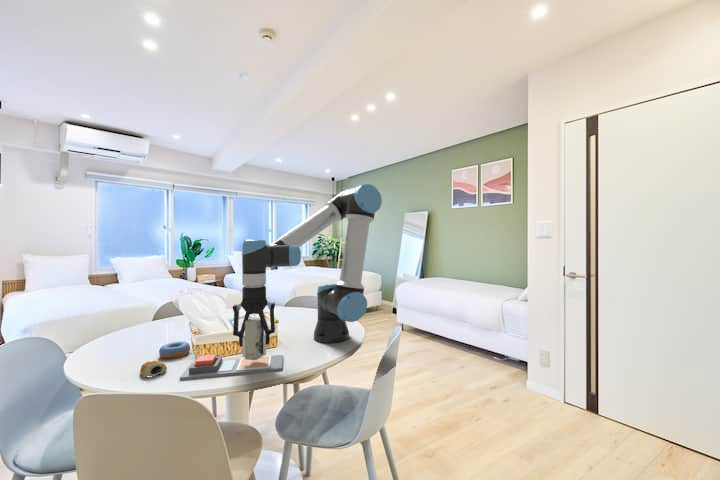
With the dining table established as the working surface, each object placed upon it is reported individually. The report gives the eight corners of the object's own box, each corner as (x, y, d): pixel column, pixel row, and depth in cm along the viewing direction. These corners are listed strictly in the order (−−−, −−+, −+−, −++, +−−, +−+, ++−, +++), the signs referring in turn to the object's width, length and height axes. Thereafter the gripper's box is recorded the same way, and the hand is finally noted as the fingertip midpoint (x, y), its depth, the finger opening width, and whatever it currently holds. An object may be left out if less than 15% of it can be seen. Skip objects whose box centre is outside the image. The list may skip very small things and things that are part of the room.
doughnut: (167, 349, 121) (167, 338, 121) (194, 350, 122) (194, 338, 122) (153, 362, 111) (152, 349, 111) (182, 362, 112) (182, 350, 112)
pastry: (136, 371, 102) (136, 359, 102) (159, 365, 107) (159, 354, 107) (144, 380, 96) (144, 367, 96) (169, 373, 101) (169, 361, 101)
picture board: (282, 356, 113) (282, 349, 113) (282, 370, 102) (282, 362, 102) (191, 364, 107) (191, 357, 107) (179, 380, 95) (179, 371, 95)
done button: (216, 360, 105) (216, 354, 105) (212, 366, 100) (212, 360, 100) (199, 361, 104) (199, 355, 104) (195, 367, 99) (195, 361, 99)
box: (256, 360, 102) (256, 321, 102) (244, 359, 103) (244, 320, 103) (264, 355, 108) (264, 317, 108) (252, 354, 108) (252, 316, 108)
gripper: (283, 283, 111) (283, 348, 111) (226, 285, 107) (226, 353, 107) (283, 286, 104) (283, 356, 104) (221, 288, 100) (222, 361, 100)
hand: (254, 354), depth 105 cm, fingers closed on box, 6 cm apart
